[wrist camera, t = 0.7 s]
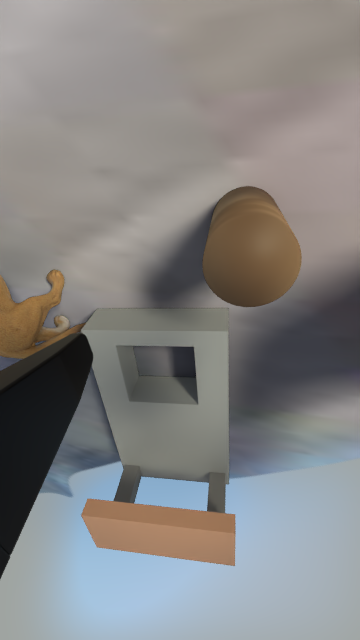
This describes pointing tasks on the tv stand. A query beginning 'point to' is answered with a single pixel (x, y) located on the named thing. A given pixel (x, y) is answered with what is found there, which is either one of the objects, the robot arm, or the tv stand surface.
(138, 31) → the tv stand surface
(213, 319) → the socket block
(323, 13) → the tv stand surface
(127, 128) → the tv stand surface
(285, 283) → the peg
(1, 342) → the lion figurine
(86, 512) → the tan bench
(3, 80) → the tv stand surface
